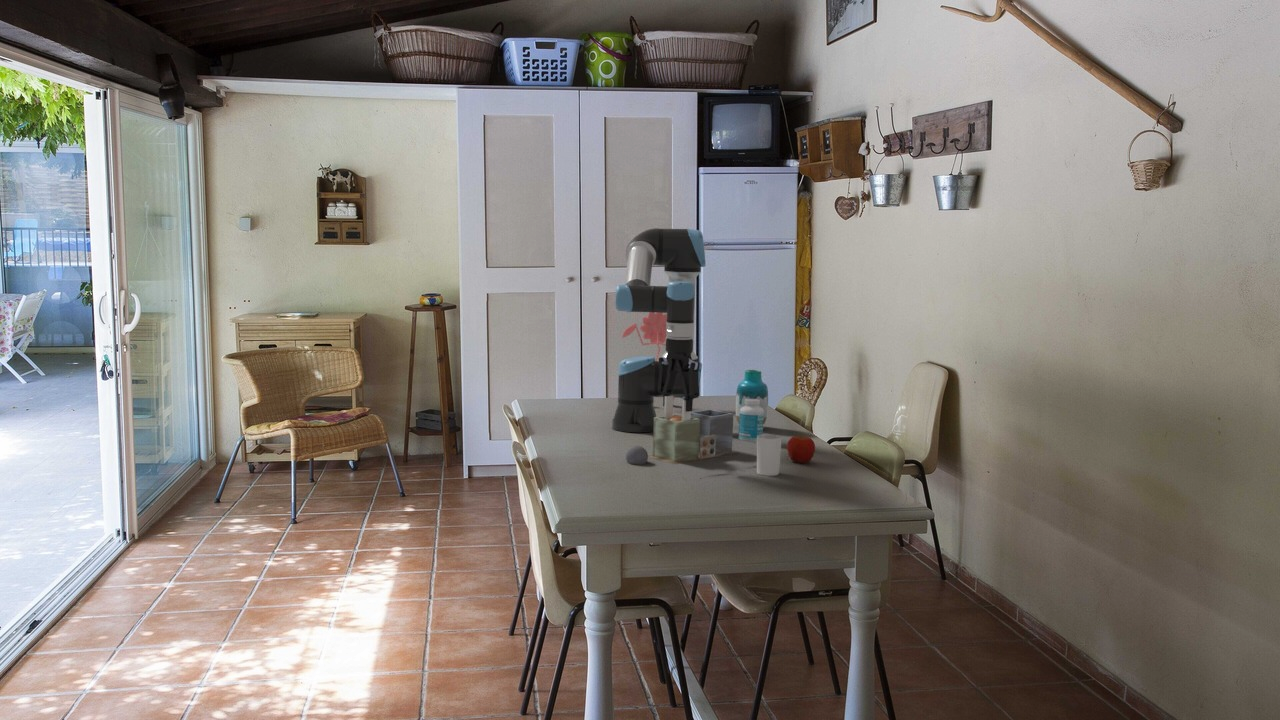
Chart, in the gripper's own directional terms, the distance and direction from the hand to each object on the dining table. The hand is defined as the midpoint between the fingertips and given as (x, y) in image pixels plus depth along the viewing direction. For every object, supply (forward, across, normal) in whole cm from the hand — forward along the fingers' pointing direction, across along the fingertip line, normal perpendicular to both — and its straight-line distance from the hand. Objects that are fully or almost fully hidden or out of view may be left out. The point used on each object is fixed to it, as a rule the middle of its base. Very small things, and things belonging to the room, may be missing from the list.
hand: (677, 420), depth 282 cm
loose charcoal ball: (+12, -2, -13) cm, 18 cm away
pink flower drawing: (+13, -73, +63) cm, 97 cm away
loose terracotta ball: (+3, +1, -2) cm, 4 cm away
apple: (+12, +21, +29) cm, 38 cm away
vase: (+13, -21, +57) cm, 62 cm away
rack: (+12, 0, +7) cm, 14 cm away
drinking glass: (+12, +24, +11) cm, 29 cm away
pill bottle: (+12, -5, +38) cm, 40 cm away
